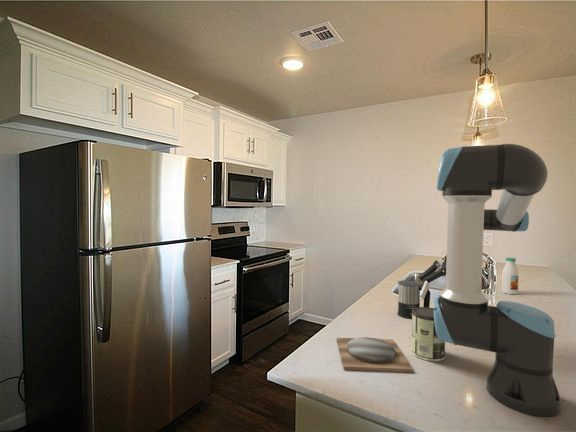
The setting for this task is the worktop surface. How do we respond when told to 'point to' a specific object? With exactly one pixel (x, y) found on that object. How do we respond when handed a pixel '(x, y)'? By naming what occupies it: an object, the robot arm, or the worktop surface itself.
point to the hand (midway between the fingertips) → (440, 302)
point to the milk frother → (410, 298)
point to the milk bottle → (510, 277)
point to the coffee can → (426, 336)
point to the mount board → (370, 366)
